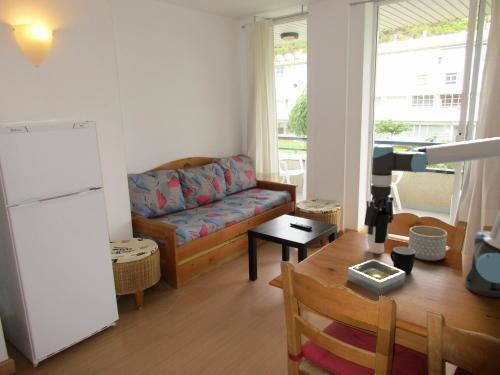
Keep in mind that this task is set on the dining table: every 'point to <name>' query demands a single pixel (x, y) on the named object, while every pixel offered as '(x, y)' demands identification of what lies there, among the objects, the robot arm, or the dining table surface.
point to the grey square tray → (376, 276)
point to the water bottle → (375, 246)
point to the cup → (381, 227)
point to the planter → (428, 242)
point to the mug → (403, 259)
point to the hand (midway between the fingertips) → (378, 239)
